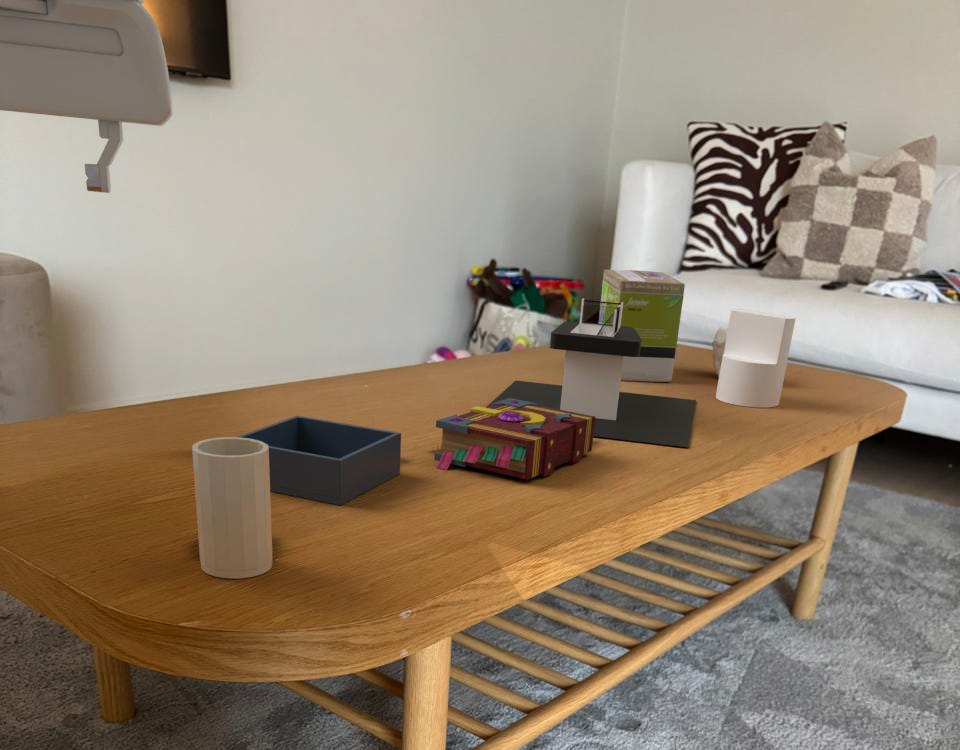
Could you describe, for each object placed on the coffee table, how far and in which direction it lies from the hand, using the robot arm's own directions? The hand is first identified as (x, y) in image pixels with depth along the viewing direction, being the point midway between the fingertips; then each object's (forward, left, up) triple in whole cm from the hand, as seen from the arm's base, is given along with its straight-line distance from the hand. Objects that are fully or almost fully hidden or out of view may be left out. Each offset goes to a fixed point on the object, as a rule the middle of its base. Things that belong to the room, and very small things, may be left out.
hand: (28, 186), depth 68 cm
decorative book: (+42, +15, -25) cm, 51 cm away
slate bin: (+21, +9, -25) cm, 34 cm away
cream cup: (+13, -12, -25) cm, 30 cm away
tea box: (+75, +65, -25) cm, 102 cm away
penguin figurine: (+93, +61, -25) cm, 114 cm away
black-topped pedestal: (+59, +38, -25) cm, 75 cm away
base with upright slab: (+86, +46, -25) cm, 100 cm away
